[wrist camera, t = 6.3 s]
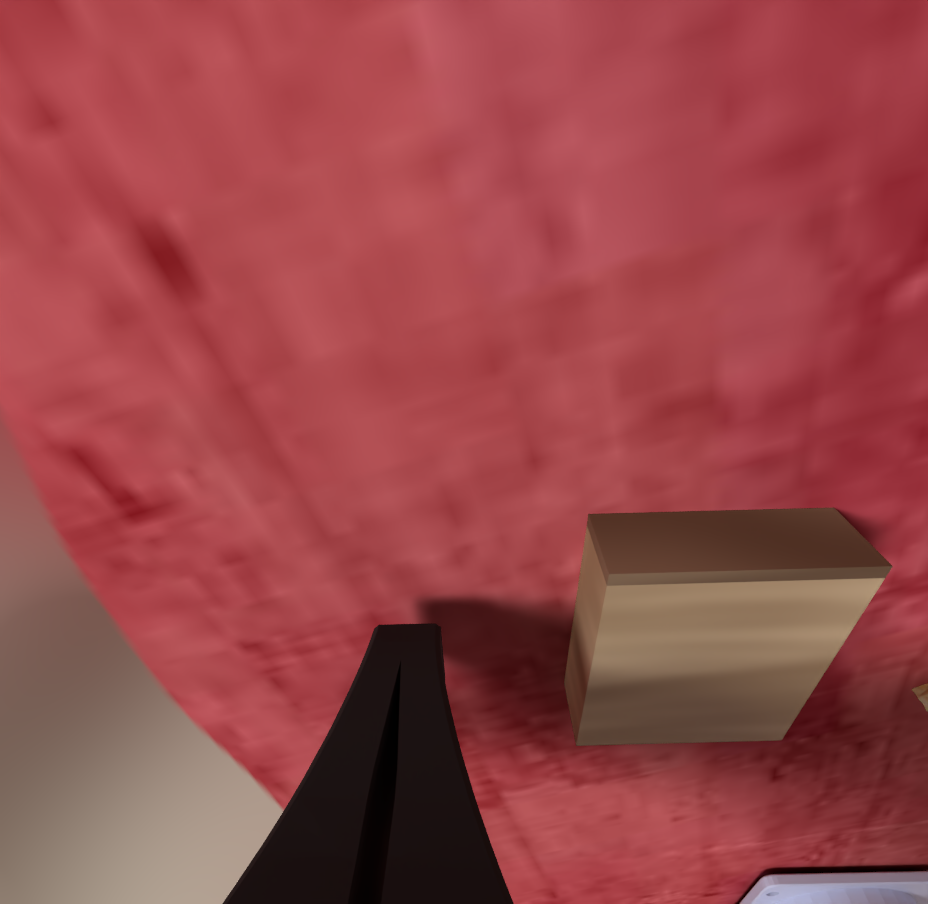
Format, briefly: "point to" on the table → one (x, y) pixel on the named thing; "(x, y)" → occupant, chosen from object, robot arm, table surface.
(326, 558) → the table surface
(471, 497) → the table surface
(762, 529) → the oak slab
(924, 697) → the shard
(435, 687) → the robot arm
